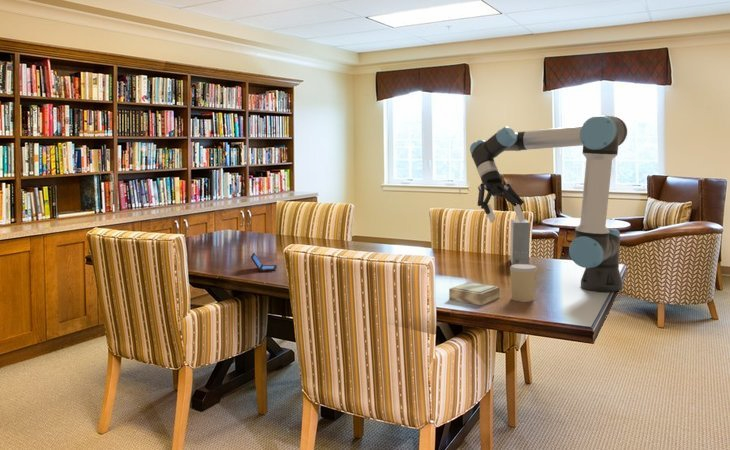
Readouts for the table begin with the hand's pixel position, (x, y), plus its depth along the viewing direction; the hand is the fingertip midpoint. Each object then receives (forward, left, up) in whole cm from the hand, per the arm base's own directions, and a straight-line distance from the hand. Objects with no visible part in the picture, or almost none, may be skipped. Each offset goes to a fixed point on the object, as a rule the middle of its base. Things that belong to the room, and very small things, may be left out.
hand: (507, 220), depth 225 cm
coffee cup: (-12, +11, -27) cm, 31 cm away
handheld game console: (+106, +32, -27) cm, 114 cm away
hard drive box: (+20, -51, -27) cm, 61 cm away
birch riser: (+2, +21, -27) cm, 34 cm away
